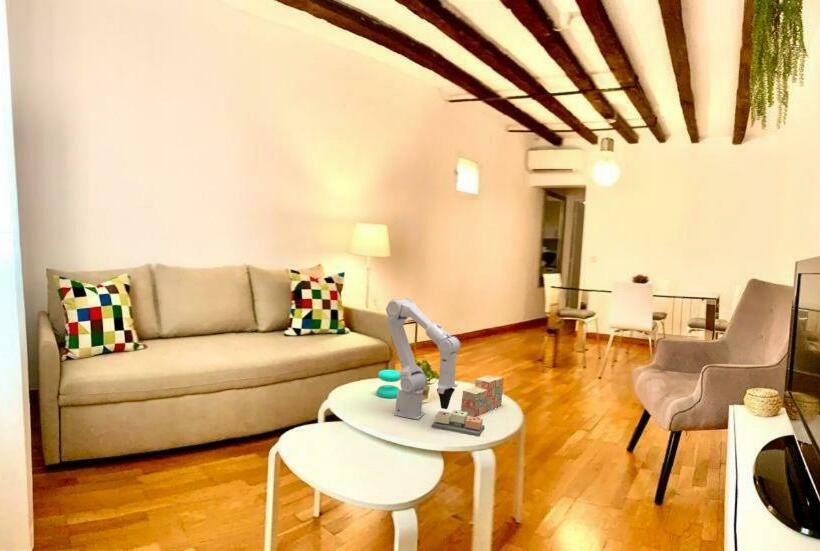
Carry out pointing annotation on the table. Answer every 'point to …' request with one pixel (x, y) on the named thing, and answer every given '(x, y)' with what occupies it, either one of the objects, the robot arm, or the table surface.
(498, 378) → the stack of blocks
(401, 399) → the robot arm
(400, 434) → the table surface
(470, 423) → the tile three
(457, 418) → the tile two
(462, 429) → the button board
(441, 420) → the tile one
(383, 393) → the donuts
